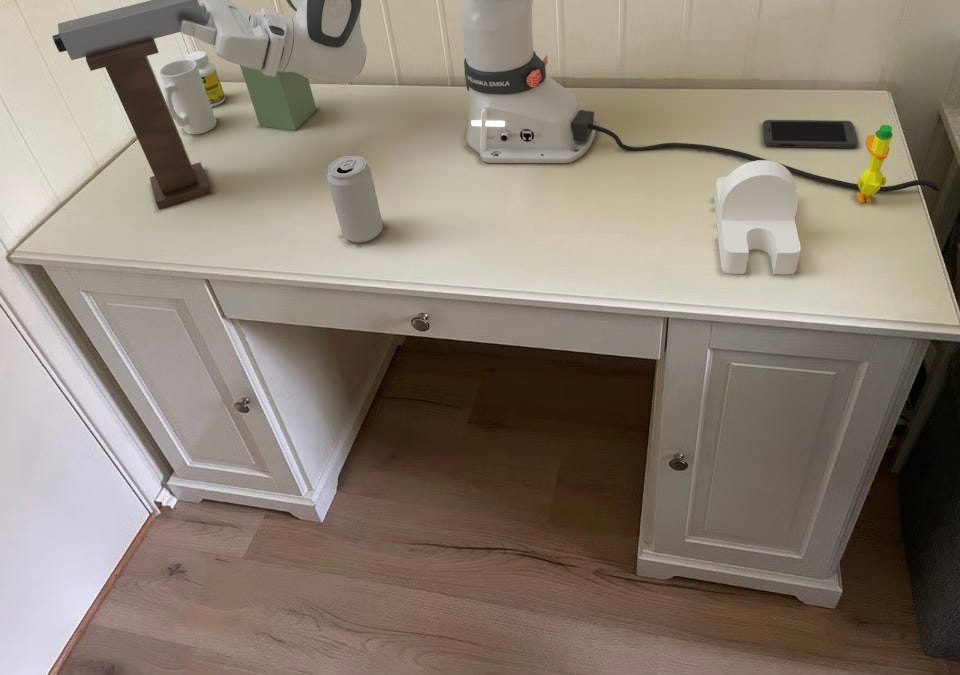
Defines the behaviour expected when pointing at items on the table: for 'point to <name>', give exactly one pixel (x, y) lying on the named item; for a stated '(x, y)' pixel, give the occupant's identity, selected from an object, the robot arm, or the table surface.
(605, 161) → the table surface
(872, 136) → the toy figure
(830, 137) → the cell phone
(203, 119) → the mug
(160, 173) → the stand
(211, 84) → the supplement bottle
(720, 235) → the white notched rounded piece
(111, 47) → the gray rectangular bar
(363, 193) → the beverage can
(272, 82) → the block
